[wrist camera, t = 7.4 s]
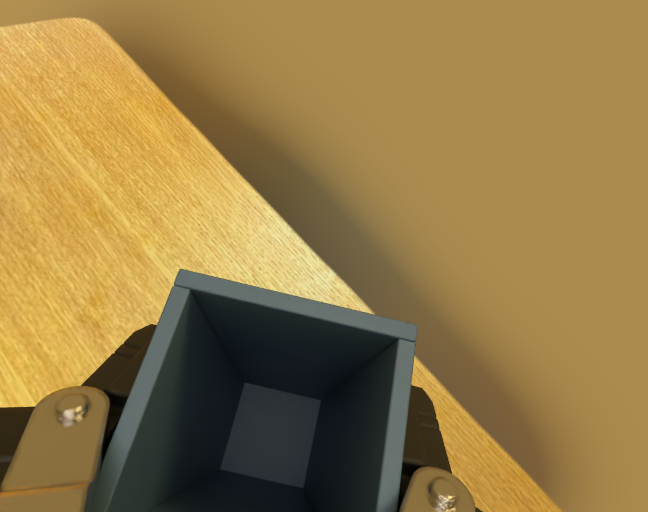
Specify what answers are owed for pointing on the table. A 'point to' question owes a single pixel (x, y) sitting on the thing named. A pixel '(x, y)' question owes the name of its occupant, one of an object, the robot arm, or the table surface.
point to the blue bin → (262, 407)
